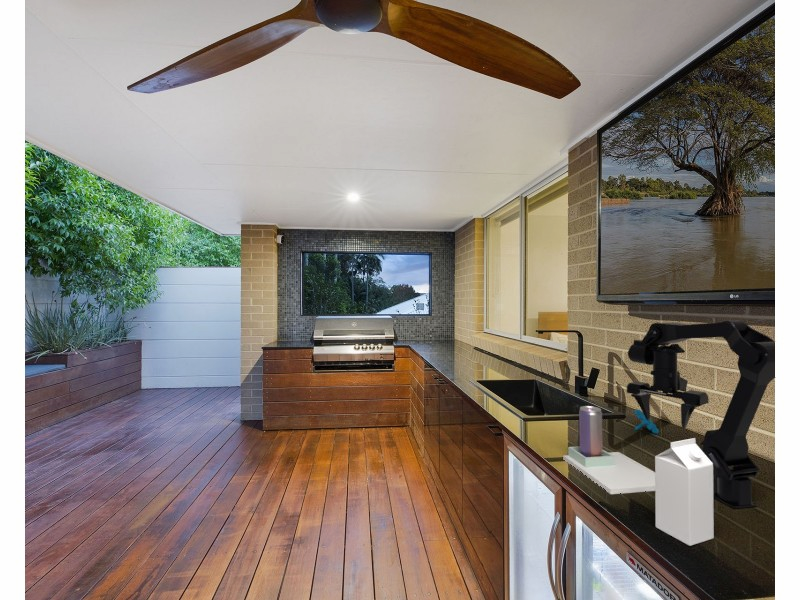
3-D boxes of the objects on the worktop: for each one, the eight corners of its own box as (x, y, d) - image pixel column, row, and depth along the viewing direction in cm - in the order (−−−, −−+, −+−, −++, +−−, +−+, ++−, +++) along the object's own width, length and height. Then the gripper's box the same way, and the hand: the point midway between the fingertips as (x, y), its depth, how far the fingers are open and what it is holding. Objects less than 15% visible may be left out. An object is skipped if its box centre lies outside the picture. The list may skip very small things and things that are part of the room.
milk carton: (655, 527, 86) (654, 437, 86) (678, 521, 88) (678, 433, 88) (689, 546, 79) (688, 448, 79) (714, 539, 82) (713, 443, 82)
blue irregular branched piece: (657, 433, 140) (634, 408, 146) (643, 443, 143) (621, 418, 148) (663, 430, 148) (642, 406, 154) (650, 439, 151) (629, 416, 156)
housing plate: (676, 489, 103) (676, 474, 103) (610, 494, 100) (610, 479, 100) (618, 455, 125) (618, 443, 125) (563, 459, 122) (563, 447, 122)
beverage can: (578, 462, 117) (578, 409, 117) (580, 454, 123) (580, 404, 123) (602, 465, 115) (601, 412, 114) (602, 458, 120) (602, 407, 120)
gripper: (717, 369, 111) (717, 427, 111) (644, 360, 126) (645, 411, 126) (698, 373, 105) (699, 434, 105) (625, 364, 120) (625, 417, 120)
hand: (665, 423), depth 114 cm, fingers open, 9 cm apart
